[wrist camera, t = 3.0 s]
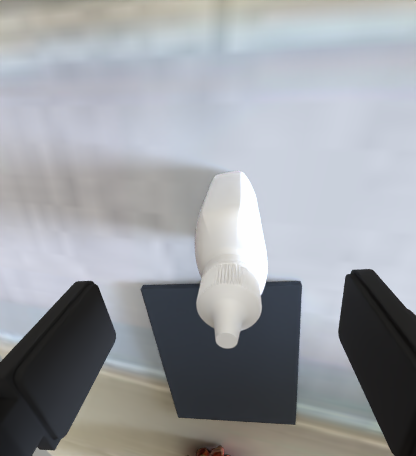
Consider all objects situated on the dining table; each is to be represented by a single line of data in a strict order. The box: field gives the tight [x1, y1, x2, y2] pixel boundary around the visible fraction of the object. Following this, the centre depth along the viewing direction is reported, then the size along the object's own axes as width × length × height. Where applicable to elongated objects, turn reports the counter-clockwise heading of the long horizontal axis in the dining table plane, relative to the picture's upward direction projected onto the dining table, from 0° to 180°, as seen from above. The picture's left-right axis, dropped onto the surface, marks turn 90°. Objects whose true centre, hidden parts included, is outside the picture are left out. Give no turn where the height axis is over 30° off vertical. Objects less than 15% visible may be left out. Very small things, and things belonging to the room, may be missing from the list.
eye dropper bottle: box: [195, 171, 267, 349], centre depth 13 cm, size 4×6×12 cm
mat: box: [141, 281, 302, 425], centre depth 26 cm, size 20×14×1 cm
